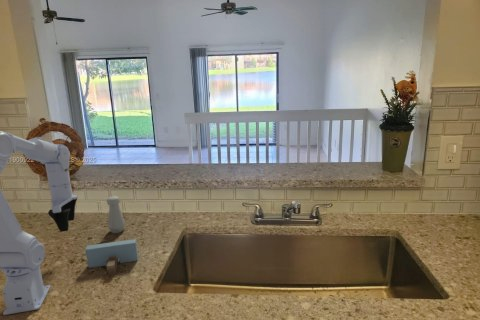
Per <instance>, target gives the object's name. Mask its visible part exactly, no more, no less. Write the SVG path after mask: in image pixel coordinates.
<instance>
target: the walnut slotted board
mask: <svg viewBox="0 0 480 320" xmlns="http://www.w3.org/2000/svg"><path fill="white" fill-rule="evenodd" d="M118 264H119V259H116V256H113V257H109V259H108V263H107V265H106V270H107V271H106V272H107V276H113V275H117V274H116V273H117V269H118V266H119V265H118Z"/></svg>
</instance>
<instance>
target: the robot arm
mask: <svg viewBox="0 0 480 320" xmlns="http://www.w3.org/2000/svg"><path fill="white" fill-rule="evenodd" d="M13 153H21V154H23V156H24V157H25V158H27V159H29V160H32V161H36V162H40V164H42V165H44V166H45V171H46V176H47V182H48V187H49V193H50V197H51V199H50V202H51V205H52V206H51V209H49V210H48V211H47V212H48V215H49V216H50V218H51V219H52V220H53V221H54V222H55V224H56V226H57V228H58V230H59V232H68V231H69V224H70V223H69V221H74V220H75V213H76V211H75V210H76V203H77V201H78V195H77V194H73V190H72V184H71V178H70V173H69V172H70V171H69V168H70V158H71V152H70V149H69V148H68V147H67V146H66V145H65V144H63V143H61V144H59V143H58V144H55V143H53V141H52V140H47V141H46V140H43V137H41V136H35V137H34V138H30V139H25V138H22V137H20V136H17V135H14V134H12V133H11V132H5V131H0V174H2V173H3V171H4V169H5V168H6V166H7V163H8V162H9V160H10V158H11V156H12V154H13ZM6 198H7V197H6V196H5V194H4V192H3V191H2V189H1V188H0V270H1V272H2V273H3V274H5V280H6V281H5V285H4V286H3V289H2V296H3V300H4V301H3V302H4V304H5V309H4V311H3V312H2V314H3V316H6V315H11V314H19V313H23V312H24V313H25V312H30V311H34V310H35V311H36V310H39V309H41V306H42V305H43V303H44V301H45V298H46V296H47V295H48V293H49V290H50V289H51V285H50V284H47V285H44V281H43V276H42V270H41V267H40V266H41V265H42V264H43V262H44V260H45V257H46V250H45V246H44V244H43V243H41V242H40V241H38V239H37V237H36V236H34V235H33V234H30V233H28V232H26V231H24V230H23V228H22V227H21V225H20V223H19V221H18V219H17V218H16V215H15V214H14V212H13V210H12V208H11V206H10V204H9V202H8V200H7V199H6Z"/></svg>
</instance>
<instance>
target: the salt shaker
mask: <svg viewBox="0 0 480 320" xmlns="http://www.w3.org/2000/svg"><path fill="white" fill-rule="evenodd" d="M120 202H121V198H120V196H117V195H114V196H113V195H112V196H109V197H107V199H106V204H107V205H108V206H109V207H108V208H109V210H108V221H107V222H108V224H107V228H108V229H109V231H110V232H111V233H112V234H120V233H123V231H124V229H125V225H126V221H125V219H124V216H123V213H122V209H121V207H120Z"/></svg>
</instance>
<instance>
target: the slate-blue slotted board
mask: <svg viewBox="0 0 480 320" xmlns="http://www.w3.org/2000/svg"><path fill="white" fill-rule="evenodd" d="M138 252H139V251H138V244H137V238H133V239H125V240H119V241H112V242H105V243H97V244H90V245H86V247H85V253H86V254H85V256H86V260H87V267H88V269H89V268H97V267H103V266H107V263H108V259H109V257H113V256H116V259H119V260H118V262H119V264H123V263H131V262H137V261H139V253H138Z"/></svg>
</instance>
